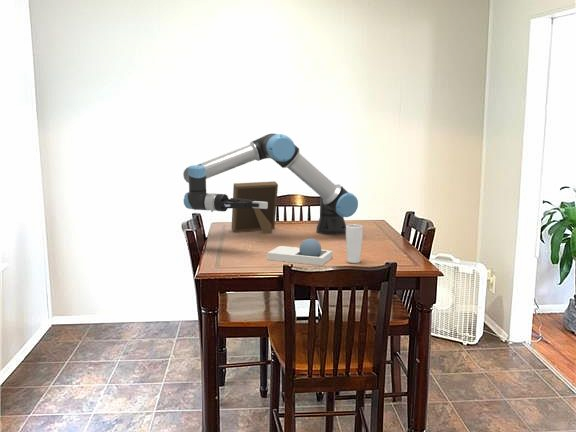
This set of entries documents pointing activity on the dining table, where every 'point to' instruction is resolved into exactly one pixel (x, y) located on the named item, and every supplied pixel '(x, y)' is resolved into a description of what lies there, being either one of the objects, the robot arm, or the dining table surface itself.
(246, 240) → the dining table surface
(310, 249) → the ball
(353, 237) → the drinking glass
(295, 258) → the white tray
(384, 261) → the dining table surface
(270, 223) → the photo frame
